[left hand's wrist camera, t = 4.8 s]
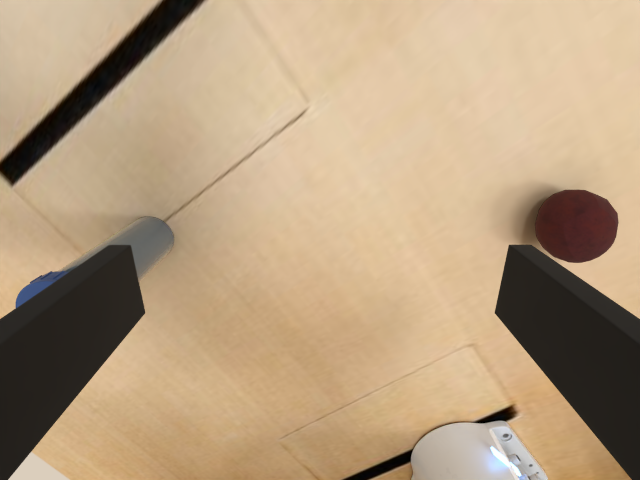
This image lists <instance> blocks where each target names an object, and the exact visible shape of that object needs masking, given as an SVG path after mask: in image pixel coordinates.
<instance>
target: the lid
mask: <svg viewBox="0 0 640 480" xmlns="http://www.w3.org/2000/svg"><path fill="white" fill-rule="evenodd" d="M67 273H69V272H64V271H58V272H52V271H51V272H49V273H48V274H45V275H43V276H42V275H41V276H39V277H38V278H36V279H35V280H33V281H31V282H30V284H29V285H27V286H26V287H24V288H23V289H22V290H21V291H20V293H19V294H18V297H17V299H16V308H17V307H19V306H20V305H22V304H23V303H25V302H26V301H28V300H29V299H31V298H32V297H33V296H35V295H36V294H38V293H39V292H41V291H42V290H44V289H45V288H47V287H48V286H50V285H51V284H52V283H54V282H55V281H57V280H58V279H60V278H61V277H63V276H64V275H66V274H67Z"/></svg>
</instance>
